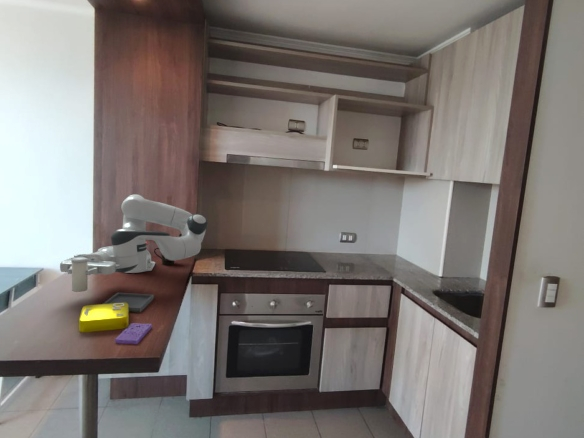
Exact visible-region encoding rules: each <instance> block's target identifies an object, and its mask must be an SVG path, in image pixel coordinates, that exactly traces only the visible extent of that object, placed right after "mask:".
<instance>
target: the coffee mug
mask: <svg viewBox="0 0 584 438" xmlns="http://www.w3.org/2000/svg"><path fill="white" fill-rule="evenodd" d="M156 250H159V251H160V249H159V247H156V248H154V251H153V252H154V254H155V255H156V256H157V257H158V258H160V259H161V265H162V266H173V265H175V261H176V260H169V259H167V258H165V257H164V256H163V255H162V253H161V252H160V253H161V254H160V255H161V256H160V255H158V254H157V252H156Z"/></svg>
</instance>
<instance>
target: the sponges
mask: <svg viewBox="0 0 584 438" xmlns="http://www.w3.org/2000/svg"><path fill="white" fill-rule="evenodd" d="M152 326H153V325H152V323H136V322H131V323H130V324H129V325H128V327H126V328H124V329H123V330H122V332H121V333H120V334H119V335H118V336H117V337H116V338H115V339H114V342H115V343H116V344H128V345H129V344H131V345H138V344H139V343H140V342H141V340H143V338H145V336H146V335H147V333H148V332H149V331H150V330H151V329H152V328H153V327H152Z"/></svg>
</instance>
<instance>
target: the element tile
mask: <svg viewBox="0 0 584 438" xmlns="http://www.w3.org/2000/svg"><path fill="white" fill-rule="evenodd" d="M129 314H130V312H129V309H128V304H127V303H112V304H103V303H102V304H101V303H100V304H99V303H98V304H87V305H84V306H82V309H81V311H80V314H79V315H80V316H79V318H78V332H79V333H93V332H103V331H113V330H121V329H123V330H124V329H126V328H128V326H129V325H130V324H129V323H130V322H129V318H130V317H129V316H130V315H129Z"/></svg>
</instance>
